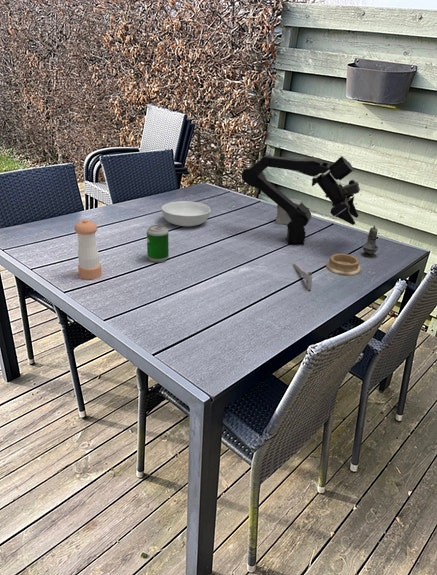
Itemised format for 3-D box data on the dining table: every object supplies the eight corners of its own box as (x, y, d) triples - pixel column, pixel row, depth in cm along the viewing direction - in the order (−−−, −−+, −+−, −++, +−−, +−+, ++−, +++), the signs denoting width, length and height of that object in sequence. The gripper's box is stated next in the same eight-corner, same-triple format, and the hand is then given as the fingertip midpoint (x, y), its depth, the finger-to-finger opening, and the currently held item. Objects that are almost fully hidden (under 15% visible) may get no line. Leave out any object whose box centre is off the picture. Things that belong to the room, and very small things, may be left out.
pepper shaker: (81, 281, 153) (76, 225, 145) (76, 272, 159) (70, 217, 150) (104, 277, 157) (99, 222, 148) (98, 268, 162) (93, 215, 154)
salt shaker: (358, 252, 185) (364, 222, 179) (373, 252, 185) (379, 222, 180) (364, 258, 179) (369, 228, 174) (379, 258, 180) (385, 228, 175)
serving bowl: (209, 232, 198) (210, 216, 195) (159, 230, 198) (158, 214, 194) (210, 216, 216) (211, 201, 213) (164, 214, 216) (164, 199, 213)
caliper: (310, 291, 154) (313, 274, 151) (307, 291, 154) (309, 274, 151) (295, 265, 172) (297, 249, 169) (292, 265, 172) (294, 249, 169)
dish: (331, 275, 165) (333, 266, 163) (322, 261, 175) (323, 252, 174) (365, 275, 166) (367, 266, 164) (353, 261, 176) (355, 252, 175)
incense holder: (274, 224, 209) (277, 201, 205) (277, 218, 217) (279, 196, 212) (297, 227, 207) (300, 204, 203) (299, 221, 215) (302, 198, 210)
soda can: (172, 257, 173) (172, 226, 168) (161, 265, 167) (161, 232, 162) (154, 253, 176) (154, 222, 170) (143, 260, 170) (142, 228, 164)
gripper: (344, 180, 165) (371, 215, 167) (352, 169, 181) (376, 201, 182) (319, 199, 171) (345, 232, 173) (328, 186, 187) (352, 218, 188)
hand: (355, 220), depth 179 cm, fingers open, 9 cm apart
